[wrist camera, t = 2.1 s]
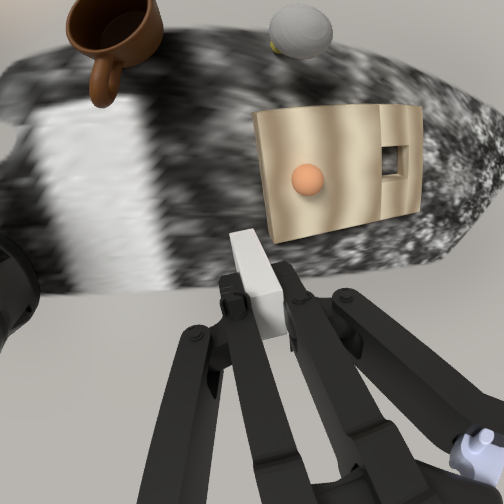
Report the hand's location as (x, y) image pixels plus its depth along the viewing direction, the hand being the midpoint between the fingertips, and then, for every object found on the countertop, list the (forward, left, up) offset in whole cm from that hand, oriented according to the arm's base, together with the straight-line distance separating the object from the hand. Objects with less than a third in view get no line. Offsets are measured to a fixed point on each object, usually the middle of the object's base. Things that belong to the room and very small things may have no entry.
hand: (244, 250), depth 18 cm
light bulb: (+9, +15, -16) cm, 24 cm away
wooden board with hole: (+16, 0, -16) cm, 22 cm away
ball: (+9, 0, -11) cm, 14 cm away
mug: (-7, +17, -16) cm, 24 cm away
